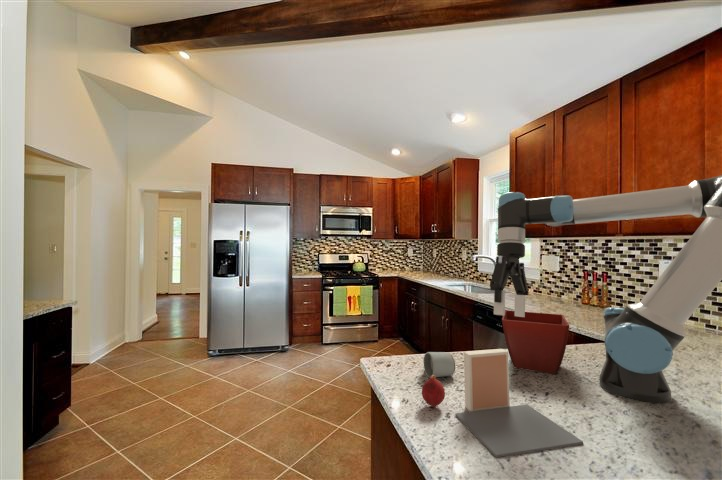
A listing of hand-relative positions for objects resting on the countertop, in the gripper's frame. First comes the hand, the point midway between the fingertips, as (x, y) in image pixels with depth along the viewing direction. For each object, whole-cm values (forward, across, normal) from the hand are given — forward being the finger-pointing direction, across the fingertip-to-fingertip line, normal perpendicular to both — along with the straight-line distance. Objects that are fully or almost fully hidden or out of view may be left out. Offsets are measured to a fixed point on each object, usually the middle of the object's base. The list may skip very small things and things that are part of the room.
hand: (509, 316), depth 90 cm
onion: (+25, +20, -10) cm, 34 cm away
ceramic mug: (+21, +2, -22) cm, 31 cm away
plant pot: (+16, -29, -3) cm, 33 cm away
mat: (+24, +15, +8) cm, 30 cm away
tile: (+23, +10, -1) cm, 25 cm away
